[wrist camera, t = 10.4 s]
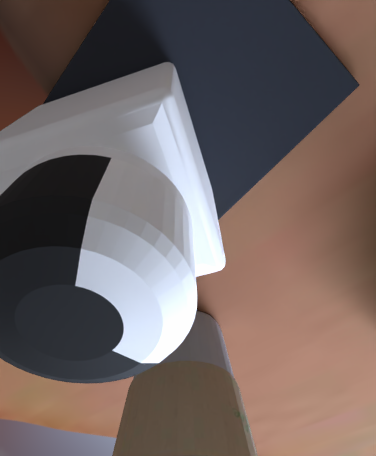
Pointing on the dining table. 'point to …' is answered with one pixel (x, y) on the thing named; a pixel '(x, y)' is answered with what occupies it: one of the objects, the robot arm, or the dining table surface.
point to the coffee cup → (187, 402)
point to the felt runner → (222, 76)
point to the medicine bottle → (103, 230)
